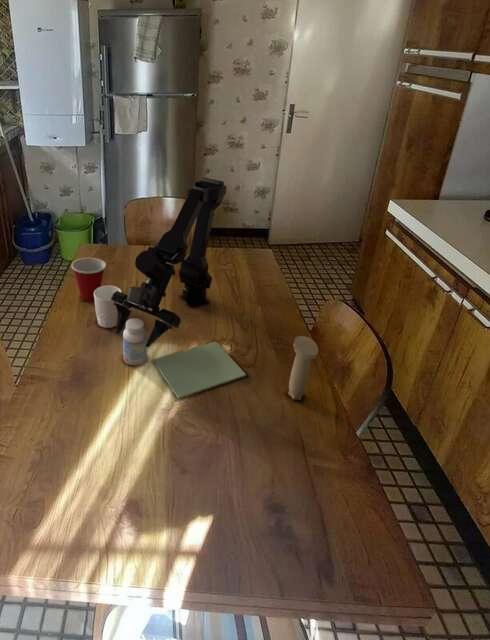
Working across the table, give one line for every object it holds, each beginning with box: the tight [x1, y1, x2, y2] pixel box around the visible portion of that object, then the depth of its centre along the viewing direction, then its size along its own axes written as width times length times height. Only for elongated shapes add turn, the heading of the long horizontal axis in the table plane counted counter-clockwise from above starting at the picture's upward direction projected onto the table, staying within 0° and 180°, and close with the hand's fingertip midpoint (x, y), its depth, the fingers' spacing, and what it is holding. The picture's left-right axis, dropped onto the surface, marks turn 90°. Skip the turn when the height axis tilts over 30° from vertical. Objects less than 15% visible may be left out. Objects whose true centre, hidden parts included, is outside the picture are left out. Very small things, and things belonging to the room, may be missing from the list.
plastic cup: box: [70, 257, 107, 302], centre depth 138 cm, size 11×11×12 cm
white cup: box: [94, 284, 123, 329], centre depth 126 cm, size 8×8×10 cm
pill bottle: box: [122, 317, 148, 366], centre depth 112 cm, size 6×6×11 cm
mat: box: [153, 341, 247, 400], centre depth 111 cm, size 19×14×1 cm
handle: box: [288, 335, 319, 401], centre depth 100 cm, size 5×6×15 cm
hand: (131, 340), depth 110 cm, fingers open, 9 cm apart
